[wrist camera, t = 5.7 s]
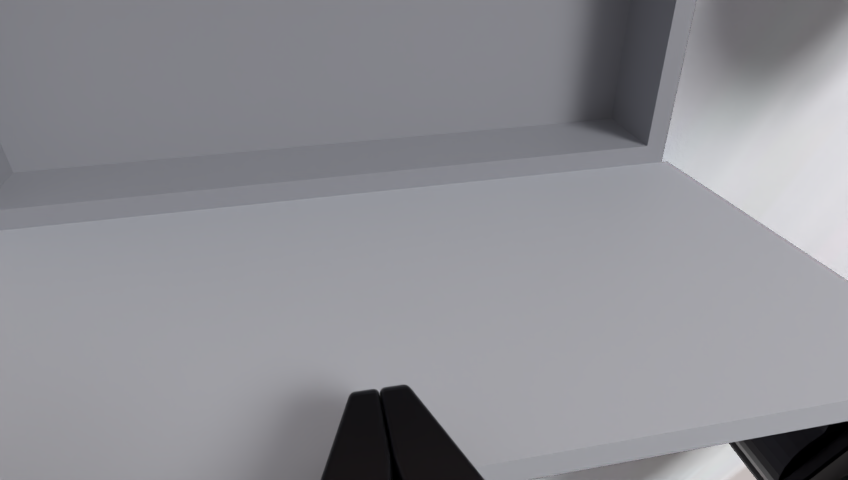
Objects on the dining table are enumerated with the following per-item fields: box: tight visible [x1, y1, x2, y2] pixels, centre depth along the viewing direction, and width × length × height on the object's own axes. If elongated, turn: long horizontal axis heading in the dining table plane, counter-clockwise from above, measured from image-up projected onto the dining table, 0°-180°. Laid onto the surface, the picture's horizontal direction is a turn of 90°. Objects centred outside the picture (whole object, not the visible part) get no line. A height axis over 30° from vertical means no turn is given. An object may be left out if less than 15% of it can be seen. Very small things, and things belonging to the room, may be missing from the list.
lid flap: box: [0, 162, 848, 480], centre depth 13 cm, size 10×20×1 cm
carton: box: [0, 0, 697, 231], centre depth 16 cm, size 9×20×3 cm, turn 91°
